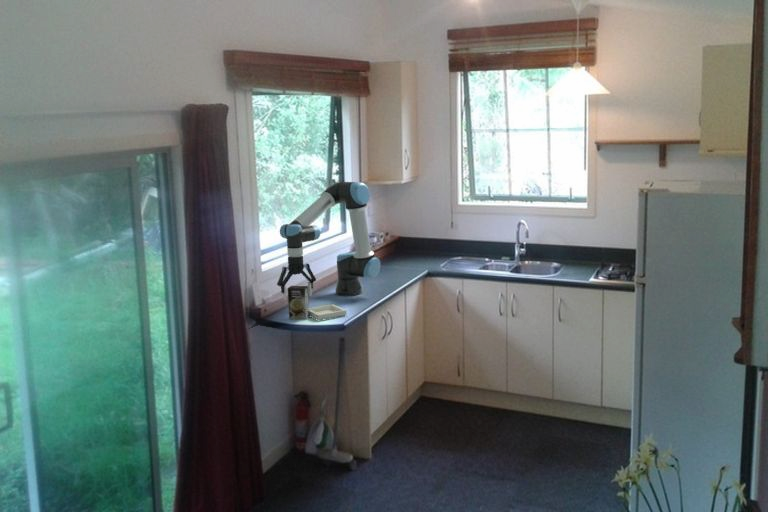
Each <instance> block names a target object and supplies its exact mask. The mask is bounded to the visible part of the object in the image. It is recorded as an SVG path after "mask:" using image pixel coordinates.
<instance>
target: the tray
mask: <svg viewBox="0 0 768 512" xmlns="http://www.w3.org/2000/svg"><path fill="white" fill-rule="evenodd" d="M345 315H346V316H347V309H345V308H342V307H340V306H338V305H336V304H333V303H332V304H326V305H325V304H324V305H320V306H315V307H309V317H310V316H311V317H310V318H312V317H313V318H312V319H314V318H315V319H317V320H323V319H328V320H330V319H329V318H333V319H336V318H335V317H338V318H341V317H340V316H344V317H346V316H345ZM315 319H314V320H315ZM317 320H316V321H317ZM323 321H324V320H323Z"/></svg>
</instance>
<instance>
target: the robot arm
mask: <svg viewBox="0 0 768 512" xmlns="http://www.w3.org/2000/svg"><path fill="white" fill-rule="evenodd" d="M370 197H371V193H370V190H369V187H368V186H367V184H365V183H363V182H360V181H339V182H336V183H334V184H332V185H330V186H329V187H327V188H326V189H325V190H324V191H323V192H321V194H320V197H318V198H317V199H316V200H315V201H314V202H313V203H312V204H310V205H309V206H308V207H307V208H305V210H304V211H303V212H301V213H299V215H298V216H297V217H296V218H294V219H293V221H291V222H290V223H289V224H288V223H286V224H283V225H282V224H281V226H280V228H279V234H280V237H281V238H283V239H286V245H287V246H286V247H287V251H286V252H287V263H288V265H287V266H284V265H283V266H282V267H281V273H280V275H279V278H278V281H277V282H276V285H277V286H279V287H280V292H281V293H282V298H283V300H286V301H287V300H288V294H287V286H286V285H287V283H288V281H289V280H290V279H291V277H292V276H293V275H295V276H296V275H302V276H303V277H304V278H305V279H306V280H307V281H308V282H307V286H308V296H309V297H312V296H313V294H312V292H313V291H312V289H314V282H317V278H316V276H315V275H314V273H313V271H312V269H311V266H310V263H307V262H306V263H305V264H304V256H303V255H304V251H303V250H304V249H303V243H306V242H307V243H308V242H312V241H313V242H314V241H315V240H318V239H320V237H321V229H320V228H319V226H317V225H312V224H313V223H315V221H316V220H317V219H318V218H320V217H321V216H322V215H323V214H324V213H325V212H326V211H328V209H330V208H333V207H335V206H336V205H338V204H345V205H344V206H345V209H346V210H347V211H348V213H349V219H350V225H351V230H352V237H353V244H354V249H355V251H353V252H352V251H351V252H344V253H340V254H338V255H337V256H336V269H337V272H336V273H337V284H336V288H335V295H337V296H341V297H342V296H343V297H349V296H350V297H352V296H357V295H360V294H362V293H363V288H362V285H361V282H360V280H359V278H365V279H373V278H375V277H376V276H378V274H379V272H380V270H381V260H380V259H379V258H378V257H376V255H375V252H374V251H373V250H372V248H371V247H372V246H371V242H370V241H371V240H370V234H369V229H368V223H367V215H366V208H367V206H368V202H369V201H370ZM304 269H306V271H307V273H308V274H307V273H306V272H305V271H304ZM287 271H288V272H287Z"/></svg>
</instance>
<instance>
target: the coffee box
mask: <svg viewBox="0 0 768 512" xmlns="http://www.w3.org/2000/svg"><path fill="white" fill-rule="evenodd" d="M287 300H288V316H289V317H288V318H289V320H302V319H306V320H308V318H309V317H310V316H309V308H310V307H309V306H310V305H309V295H308V285H290V286H289V287H288V288H287Z"/></svg>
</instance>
